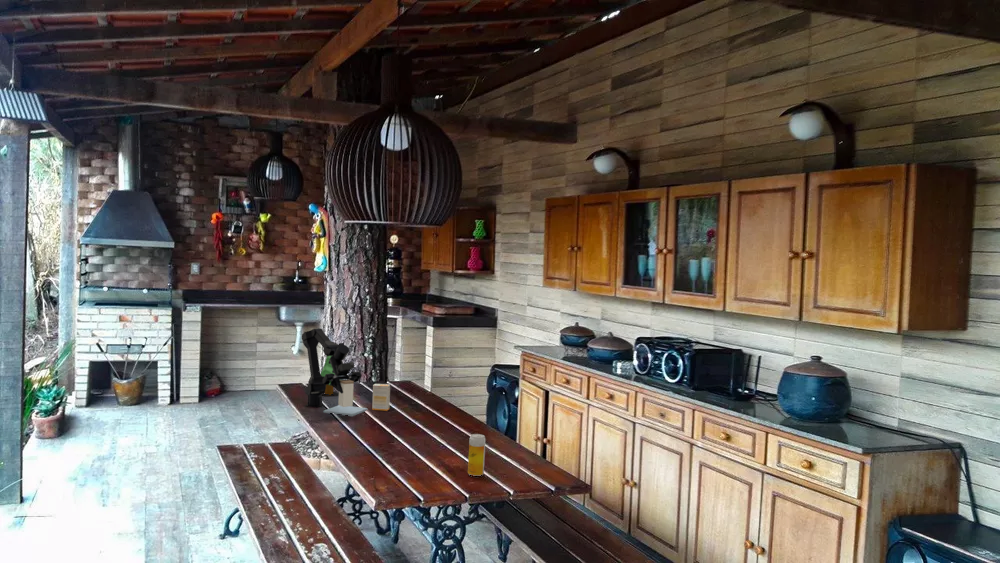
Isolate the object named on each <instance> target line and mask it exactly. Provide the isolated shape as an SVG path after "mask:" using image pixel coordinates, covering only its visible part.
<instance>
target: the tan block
mask: <svg viewBox="0 0 1000 563" xmlns="http://www.w3.org/2000/svg"><path fill="white" fill-rule="evenodd" d="M354 383H355V382H354V381H351V380H347V379H346V380H340V384H341V387H342V390H343V393H341V392H339V391H338V400H337V401H338V402H337V403H338V404H337V406H338V405H340V406H342V407H348V406H353V407H354V405H353V403H354Z"/></svg>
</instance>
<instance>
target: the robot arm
mask: <svg viewBox="0 0 1000 563" xmlns="http://www.w3.org/2000/svg"><path fill="white" fill-rule="evenodd" d="M301 340H302V344H303V346H304V347H305V348H306V350H307V356H308V357H307V358H308V364H309V372H310V376H309V379H308V384H307V386H306V388H305V395H307V404H306V405H305V406H306V407H310V408H311V407H312V408H319V407H322V406H324V403H323V397H322V396H323V395H324V393H325V389H326V385H328V384H330V386H333V387H334V388H333V389H336V390H337V391H338V393H339V392H341V393H343V390H342V387H341V384H340V380H351V381H354V383H358V382H359V381H360V379H361V378H362V372H361V371H352V372H351V374H349V373H350V371H351V370H352V369H354V368H355V363H354V361H349V362H345V363H344V360H345V359H346V357H347V356H348V354H349V353H350V348H349V347H348V346H347V345H346V344H344V343H343V342H339V343H338V342H337V343H336V342H334V341H332V340H331V339H330V338H329V337H328V336H327V335H326V333H325V332H324V330H323V328H313V329H311V330H307V331H303V333H302V334H301ZM319 344H320V345H321V346H322V348H323V349H322V352H323V353H324V355H325V357H327V356H331V358H330V359H329V364H331V366H332V369H333V371H332V373H331V374H326V375H325V376H322V375H321V370H320V363H319V362H320V361H319V355H318V345H319ZM333 373H334V374H335V375H334V374H333ZM330 382H331V383H330Z"/></svg>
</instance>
